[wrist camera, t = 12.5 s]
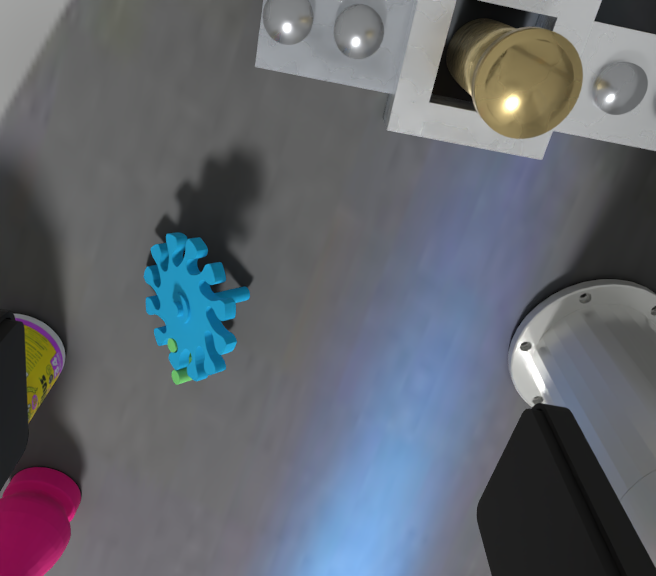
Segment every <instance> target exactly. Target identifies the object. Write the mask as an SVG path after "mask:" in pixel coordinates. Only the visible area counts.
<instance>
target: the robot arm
mask: <svg viewBox="0 0 656 576" xmlns="http://www.w3.org/2000/svg"><path fill="white" fill-rule="evenodd" d="M508 368H509V372H510V376H511V379H512V381H513V383H514V386H515V388H516V390H517V391H518V393H519V394H520V396H521V397H522V399H523V400H524V401H525V402H526V403H528V404H529V405H530V406H531V407H532V409H526V410H525V411H524V412H523V413H522V415H521V417H520V419H519V421H518V423H517V425H516V427H515V429H514V431H513V433H512V435H511V438H510V440H509V442H508V444H507V446H506V448H505V450H504V452H503V454H502V456H501V458H500V460H499V462H498V464H497V466H496V468H495V470H494V472H493V474H492V476H491V478H490V480H489V482H488V484H487V486H486V488H485V490H484V492H483V494H482V497H481V499H480V501H479V503H478V507H477V522H478V526H479V529H480V533H481V537H482V541H483V544H484V548H485V552H486V556H487V559H488V563H489V567H490V570H491V574H492V576H656V293H654V292H653V291H651V290H650V289H648V288H647V287H644V286H642V285H639V284H637V283H634V282H630V281H624V280H619V279H599V280H593V281H587V282H582V283H579V284H576V285H573V286H570V287H567V288H565V289H563V290H561V291H559V292H557V293H555V294H553V295H551V296H550V297H548V298H547V299H545V300H544V301H543V302H541V303H540V304H538V305H537V306H536V307H535V308H534V309H533V310H532V311H531V312H530V313H529V314H528V315H527V316H526V317H525V318H524V320H523V321H522V323H521V324H520V325H519V327H518V328H517V330H516V332H515V334H514V336H513V338H512V341H511V344H510V348H509V353H508ZM28 434H29V429H28V404H27V378H26V353H25V329H24V324H23V322H21V321H16V320H15V316H14V314H13V312H11V311H7V310H1V309H0V491H1V489H2V487H3V486H4V484H5V482H6V481H7V479H8V478H9V476H10V474H11V473H12V471H13V469H14V468H15V466H16V464H17V463H18V461H19V459H20V458H21V456H22V454H23V452H24V450H25V448H26V445H27V441H28Z"/></svg>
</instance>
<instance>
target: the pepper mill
mask: <svg viewBox="0 0 656 576" xmlns="http://www.w3.org/2000/svg"><path fill="white" fill-rule="evenodd" d="M80 501H81V493H80V490H79V488H78V486H77V484H76V483H75V482H74V481H73V480H72V479H71V478H70V477H68V476H67V475H65V474H64V473H62V472H60V471H57V470H55V469H50V468H46V467H32V468H27V469H24V470H22V471H20V472H18V473H17V474H16V475H15V476H14V477H13V478H12V480H11V481H10V483H9V485H8V486H7V488H6V490H5V491H4V493H3V497H2V498H1V499H0V576H43V575H44V574H45V573H46V572H47V571H48V570H50V569H51V568H52V567H53V565H54V564H55V563H56V562H57V560H58V559H59V558H60V557H61V555H62V553H63V552H64V550H65V548H66V546H67V544H68V542H69V540H70V535H71V528H70V523H69V522H70V521H71V520H72V519H73V517H74V515H75V513H76V511H77V509H78V506H79V504H80Z"/></svg>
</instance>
